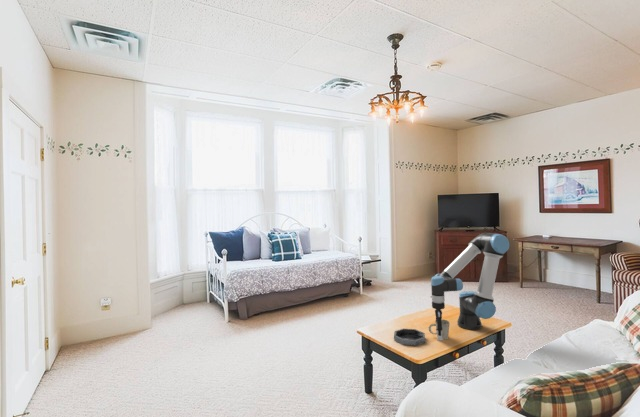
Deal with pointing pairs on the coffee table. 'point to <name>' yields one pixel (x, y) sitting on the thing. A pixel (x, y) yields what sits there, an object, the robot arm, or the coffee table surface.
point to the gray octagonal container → (409, 337)
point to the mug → (444, 328)
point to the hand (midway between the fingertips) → (439, 337)
